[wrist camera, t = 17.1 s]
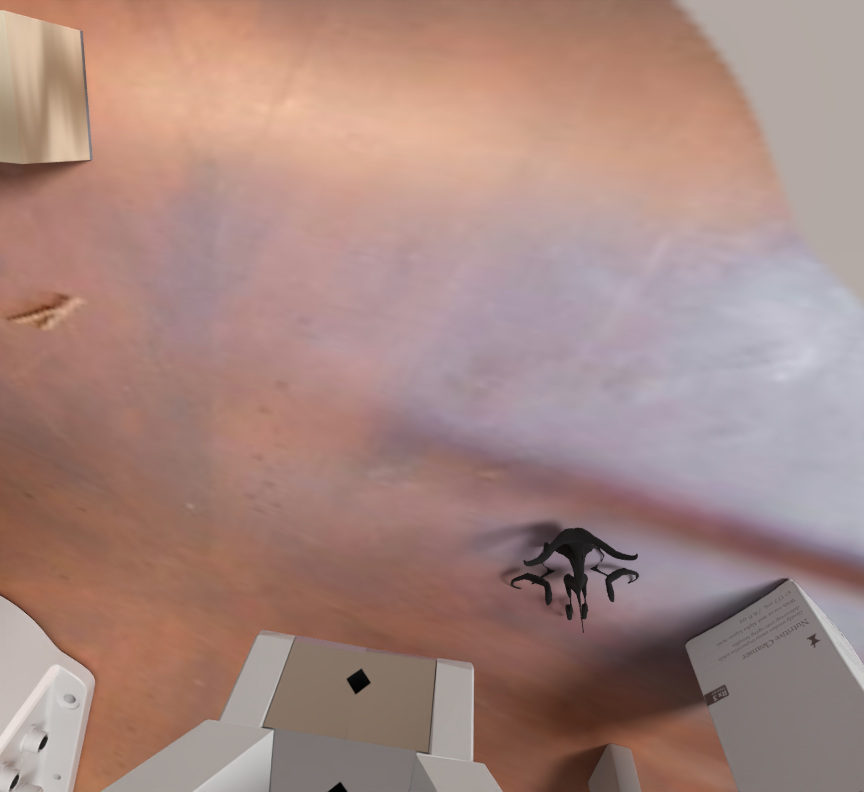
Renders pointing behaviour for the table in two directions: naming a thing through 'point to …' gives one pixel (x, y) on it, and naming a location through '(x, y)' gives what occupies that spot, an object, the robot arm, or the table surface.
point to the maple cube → (42, 92)
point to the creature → (576, 565)
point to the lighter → (615, 771)
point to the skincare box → (784, 696)
